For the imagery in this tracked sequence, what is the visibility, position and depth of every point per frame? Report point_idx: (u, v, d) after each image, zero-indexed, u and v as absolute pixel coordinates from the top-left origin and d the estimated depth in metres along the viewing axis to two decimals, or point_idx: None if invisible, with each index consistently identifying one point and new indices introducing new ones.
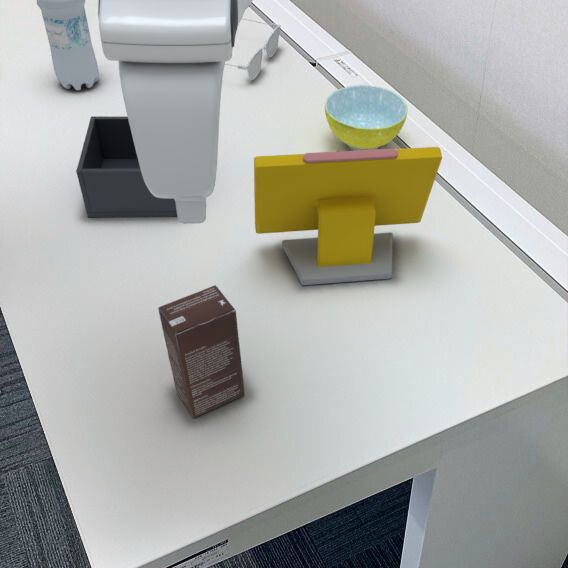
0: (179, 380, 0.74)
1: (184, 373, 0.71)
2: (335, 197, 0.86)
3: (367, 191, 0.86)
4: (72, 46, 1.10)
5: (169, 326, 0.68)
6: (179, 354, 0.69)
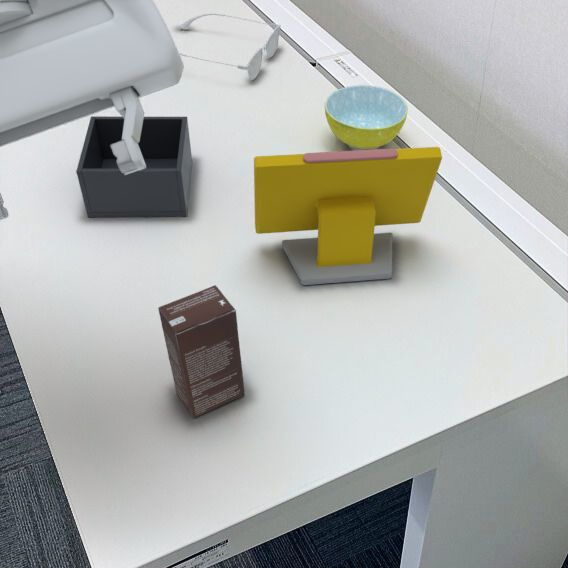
0: (179, 380, 0.74)
1: (184, 373, 0.71)
2: (335, 197, 0.86)
3: (367, 191, 0.86)
4: None
5: (169, 326, 0.68)
6: (179, 354, 0.69)
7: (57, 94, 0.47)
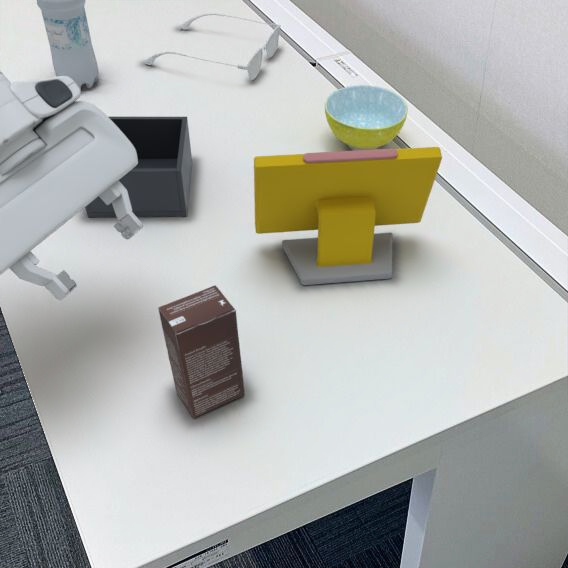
0: (179, 380, 0.74)
1: (184, 373, 0.71)
2: (335, 197, 0.86)
3: (367, 191, 0.86)
4: (72, 46, 1.10)
5: (169, 326, 0.68)
6: (179, 354, 0.69)
7: (85, 193, 0.68)
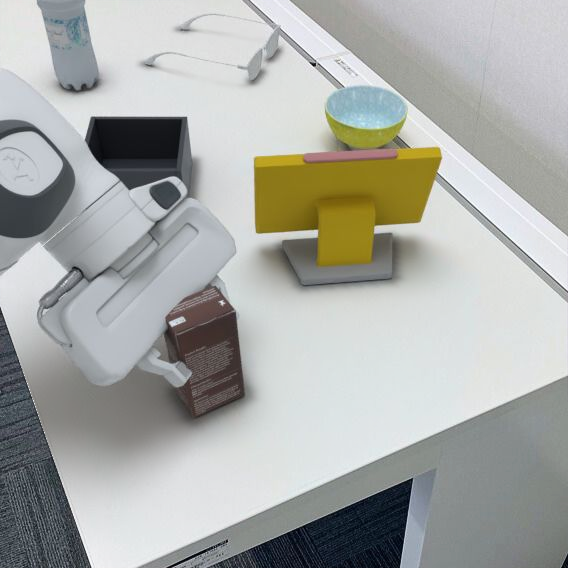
0: None
1: None
2: (335, 197, 0.86)
3: (367, 192, 0.86)
4: (72, 46, 1.10)
5: (169, 326, 0.68)
6: (179, 354, 0.69)
7: (194, 288, 0.71)
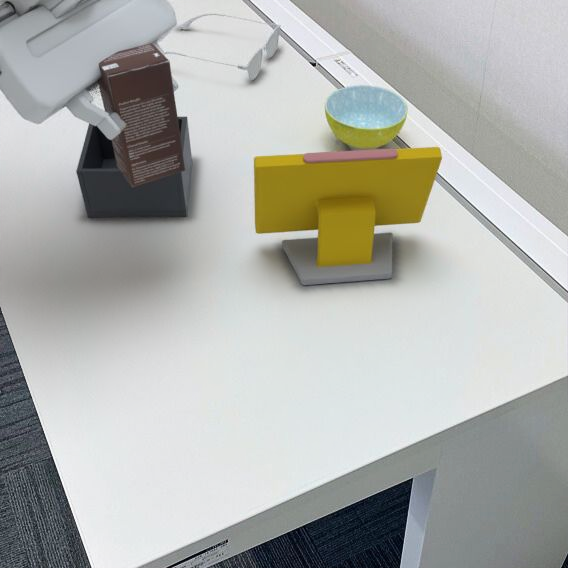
0: (117, 144, 0.75)
1: None
2: (335, 197, 0.86)
3: (367, 191, 0.86)
4: None
5: (102, 71, 0.69)
6: (113, 103, 0.70)
7: (130, 45, 0.72)
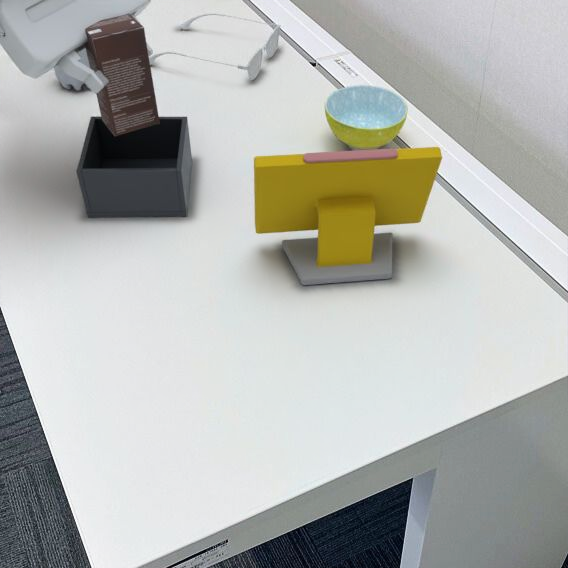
0: (101, 99, 0.89)
1: None
2: (335, 197, 0.86)
3: (367, 191, 0.86)
4: None
5: (88, 35, 0.83)
6: (97, 62, 0.84)
7: (111, 15, 0.87)
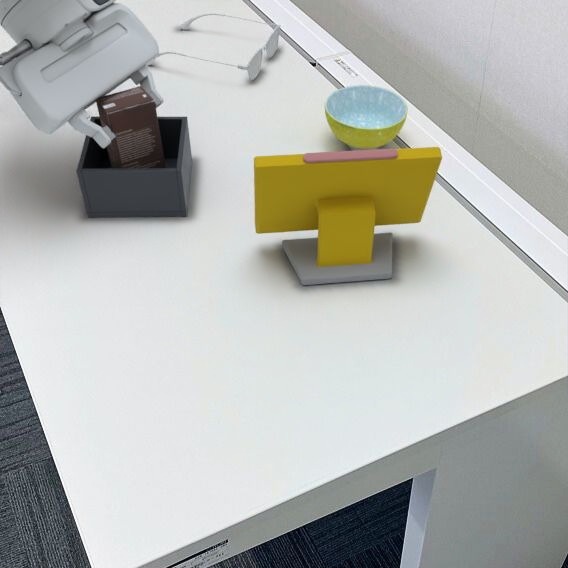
0: (114, 164, 0.96)
1: (116, 152, 0.93)
2: (335, 197, 0.86)
3: (367, 192, 0.86)
4: None
5: (103, 109, 0.90)
6: None
7: (122, 71, 0.91)
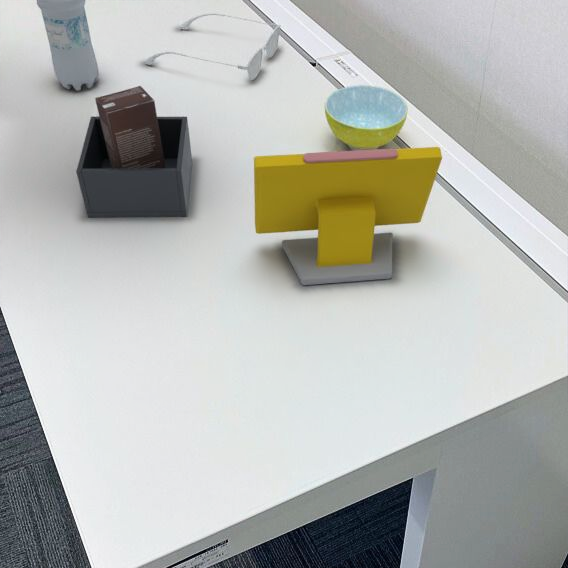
0: (114, 164, 0.96)
1: (116, 151, 0.93)
2: (335, 197, 0.86)
3: (367, 192, 0.86)
4: (72, 46, 1.10)
5: (102, 109, 0.90)
6: (111, 133, 0.91)
7: None
